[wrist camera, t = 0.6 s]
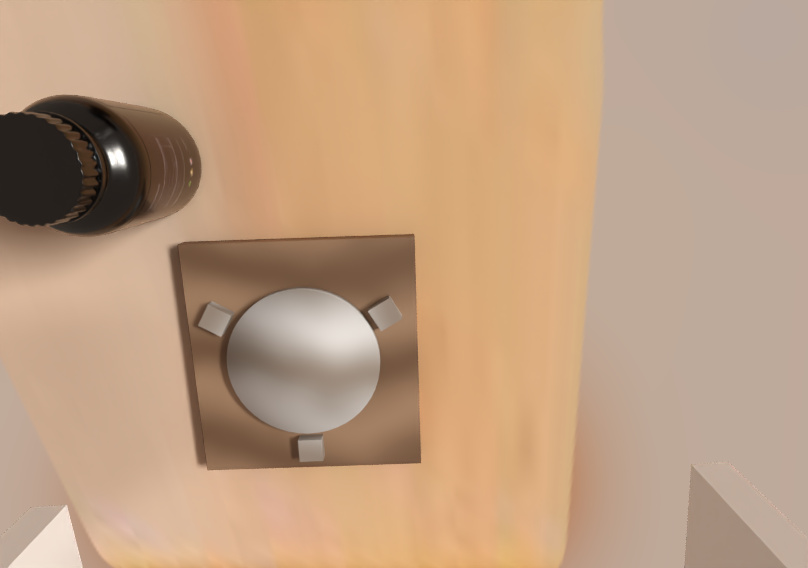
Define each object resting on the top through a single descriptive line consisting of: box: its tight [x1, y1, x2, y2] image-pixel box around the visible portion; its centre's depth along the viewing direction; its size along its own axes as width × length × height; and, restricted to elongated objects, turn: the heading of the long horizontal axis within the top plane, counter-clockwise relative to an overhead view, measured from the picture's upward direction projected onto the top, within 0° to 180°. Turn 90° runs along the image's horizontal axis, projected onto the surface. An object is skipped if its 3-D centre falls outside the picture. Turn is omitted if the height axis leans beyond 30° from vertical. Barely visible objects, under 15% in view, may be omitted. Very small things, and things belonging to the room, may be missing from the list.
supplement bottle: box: [0, 95, 201, 237], centre depth 28 cm, size 7×7×12 cm
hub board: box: [178, 234, 421, 470], centre depth 36 cm, size 16×15×2 cm
